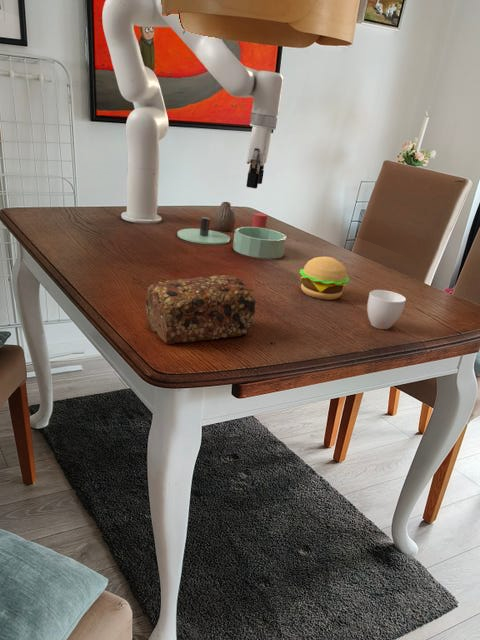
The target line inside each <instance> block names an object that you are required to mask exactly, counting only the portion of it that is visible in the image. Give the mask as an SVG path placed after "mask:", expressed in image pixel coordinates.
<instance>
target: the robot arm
mask: <svg viewBox="0 0 480 640" xmlns="http://www.w3.org/2000/svg"><path fill="white" fill-rule="evenodd" d="M101 19H102V20H101V21H102V27H103V33H104V37H105V41H106V44H107V48H108V51H109V55H110V61H111V64H112V68H113V72H114V75H115V79H116V83H117V86H118V90H119V93H120V94H121V96H122V98H123V99H125V100H126V101H127V102H130V103H132V104H133V108H134V109H133V110H132V111H130V113H129V114H128V116H127V119H126V124H125V137H126V149H127V154H126V155H127V159H126V161H127V162H126V163H127V166H126V168H127V169H126V211H124V212H121V213H120V214H121V215H120V216H121V217H120V218H121V219H122V220H124V221H126V222H130V223H142V224H143V223H144V224H156V223H160V222H161V221H162V220H163V219H162V216H160V215H158V209H159V204H158V196H159V177H160V176H159V175H160V145H159V141H160V140H162V139H164V138H165V137H166V136H167V134H168V131H169V127H170V126H169V124H170V123H169V118H168V113H167V108H166V105H165V101H164V97H163V93H162V88H161V85H160V82H159V79H158V77H157V75H156V73H155V72H154V71H153V70H152V69H151V68H149V67H148V66H145V63H144V60H143V56H142V54H141V53H142V51H141V47H140V44H139V41H138V38H137V36H136V32H135V29H134V26H136V27H141V28H170V29H171V30H172V31H173V32H174V33H175V34H176V35H177V36H178V37H179V39H180V40H182V42H183V43H184V44H185V45H186V47H188V48H189V49H190V51H191V52H192V53H193V54H194V56H195V57H196V58H197V60H199V62H200V63H201V64H202V65H203V67H205V69H206V70H207V71H208V72H209V74H210V75H211V76H212V78H214V80H215V81H216V82H217V83H219V86H221V87H222V88H223V89H224V90H225V91H226V93H228V94H229V95H230V96H232V97H234V98H252V106H251V113H250V120H249V126H250V127H252V128H251V132H250V137H249V143H248V149H247V154H246V160H245V162H246V164H247V165H249V168H248V172H247V179H246V185H245V186H246V187H247V188H250V189H254V190H255V189H258V187H259V186H258V185H262V184H263V179H264V172H265V170H264V169H265V164H266V163H267V160H268V155H269V149H270V143H271V135H272V130H273V131H274V130H277V123H278V116H279V111H280V105H281V97H282V91H283V85H284V77H283V75H282V74H281V73H279V72H274V71H270V70H257V69H254V68H250V67H248V66H246V65H243V63H242V62H241V61H240V60H239V59H238V58H237V56H235V54H234V53H233V52H232V51H231V50H230V49H229V47H228V46H227V45H226V43H225V42H224V41H223V39H222V38H221V39H219V38H215V37H208V36H203V35H199V34H195V33H191V32H188V31H186V30H184V29H183V28H182V26H181V23H180V19H179V14H170V15H168V16H163V15H162V5H161V0H105V1H104V3H103V7H102V16H101Z"/></svg>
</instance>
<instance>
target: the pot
mask: <svg viewBox="0 0 480 640" xmlns="http://www.w3.org/2000/svg"><path fill="white" fill-rule="evenodd" d="M287 238H288V237H287V235H286V234H285V233H283V232H280V231H277V230H274V229H270V228H266V229H265V228H259V227H252V226H240V227H236V228H235V229H234V236H233V243H232V248H233V250H234V251H235V252H236V253H238V254H241V255H243V256H244V255H245V256H247V257H253V258H257V259H268V260H269V259H281V258H283V256H284V255H285V250H286V244H287Z"/></svg>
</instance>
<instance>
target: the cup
mask: <svg viewBox="0 0 480 640" xmlns="http://www.w3.org/2000/svg"><path fill="white" fill-rule="evenodd" d="M406 301H407V298H406V297H405V296H404V295H402V294H400V293H398V292H394V291H390V290H386V289H372V290H371V291H370V292H369V294H368V298H367V304H366V311H367V318H368V321H369V323H370V325H371V326H372V327H373V328H376V329H380V330H389V329H390V328H391V327H392V326H394V325H395V324H396V322H397V321H398V320H399V319H400V317H401V316H402V314H403V311H404V308H405V307H406Z"/></svg>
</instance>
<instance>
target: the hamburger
mask: <svg viewBox="0 0 480 640" xmlns="http://www.w3.org/2000/svg"><path fill="white" fill-rule="evenodd" d="M347 272H348V271H347V269H346V267H345V266H344V264H343V263H342V262H341V261H339V260H338V259H336V258H334V257H331V256H318V257H313V258H312V259H310V260H308V261H306V264H305V265H304V267H303V268H301V269H300V270H299V275H301V276H300V277H299V282H301V285H300V288H301V291H302V292H303V293H304V294H305V295H306V296H308V297H311V298H313V299H318V300H319V299H320V300H325V301H326V300H327V301H331V300H337V299H339V298H340V297H342V295H343V290H346V289H347V284H348V283H349V281H350V278H349V276H348V273H347Z"/></svg>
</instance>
